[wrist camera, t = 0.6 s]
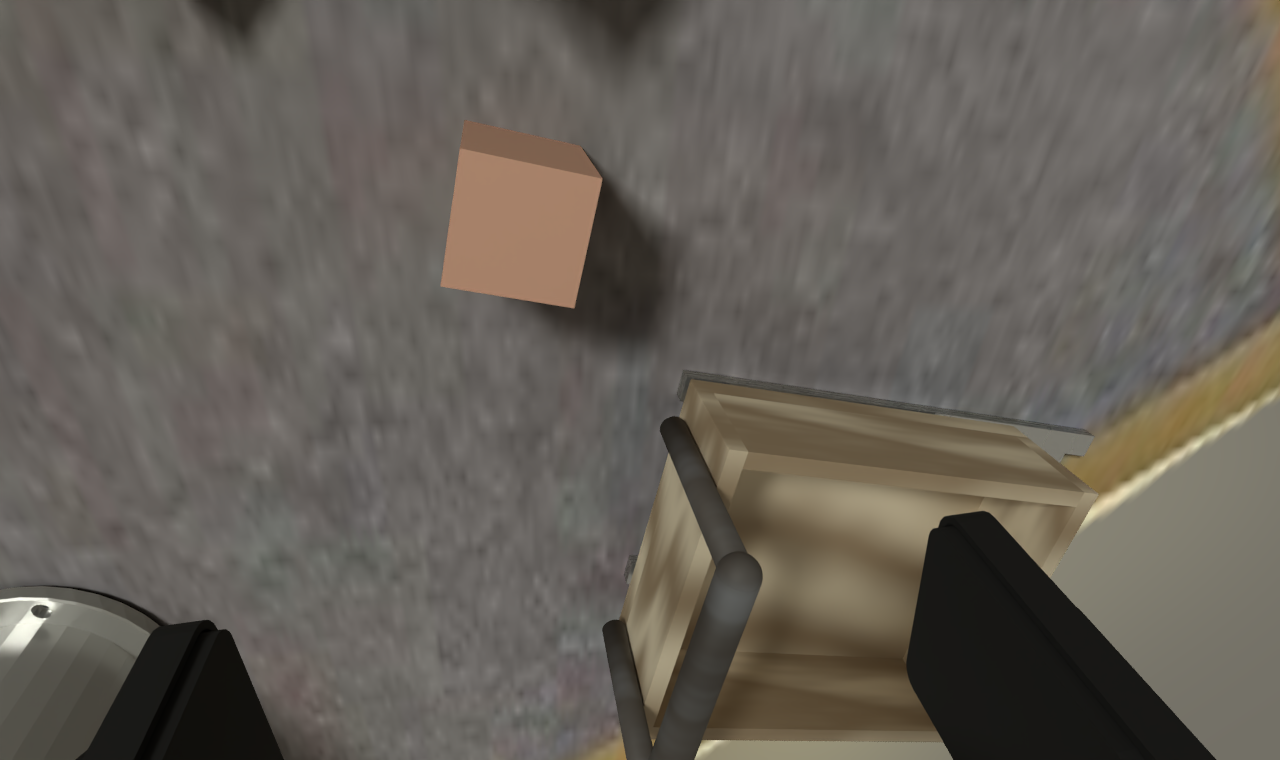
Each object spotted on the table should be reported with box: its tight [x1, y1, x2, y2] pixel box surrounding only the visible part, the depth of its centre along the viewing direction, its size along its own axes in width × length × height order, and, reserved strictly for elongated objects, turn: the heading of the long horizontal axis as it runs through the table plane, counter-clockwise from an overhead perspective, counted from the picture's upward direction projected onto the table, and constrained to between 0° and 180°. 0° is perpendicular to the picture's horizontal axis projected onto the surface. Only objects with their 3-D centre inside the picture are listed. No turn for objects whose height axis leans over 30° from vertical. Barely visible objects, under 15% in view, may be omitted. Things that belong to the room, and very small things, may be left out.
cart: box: [602, 379, 1099, 760], centre depth 36 cm, size 16×19×15 cm
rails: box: [624, 370, 1095, 584], centre depth 45 cm, size 13×26×1 cm, turn 76°
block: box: [441, 120, 603, 308], centre depth 30 cm, size 5×5×7 cm
